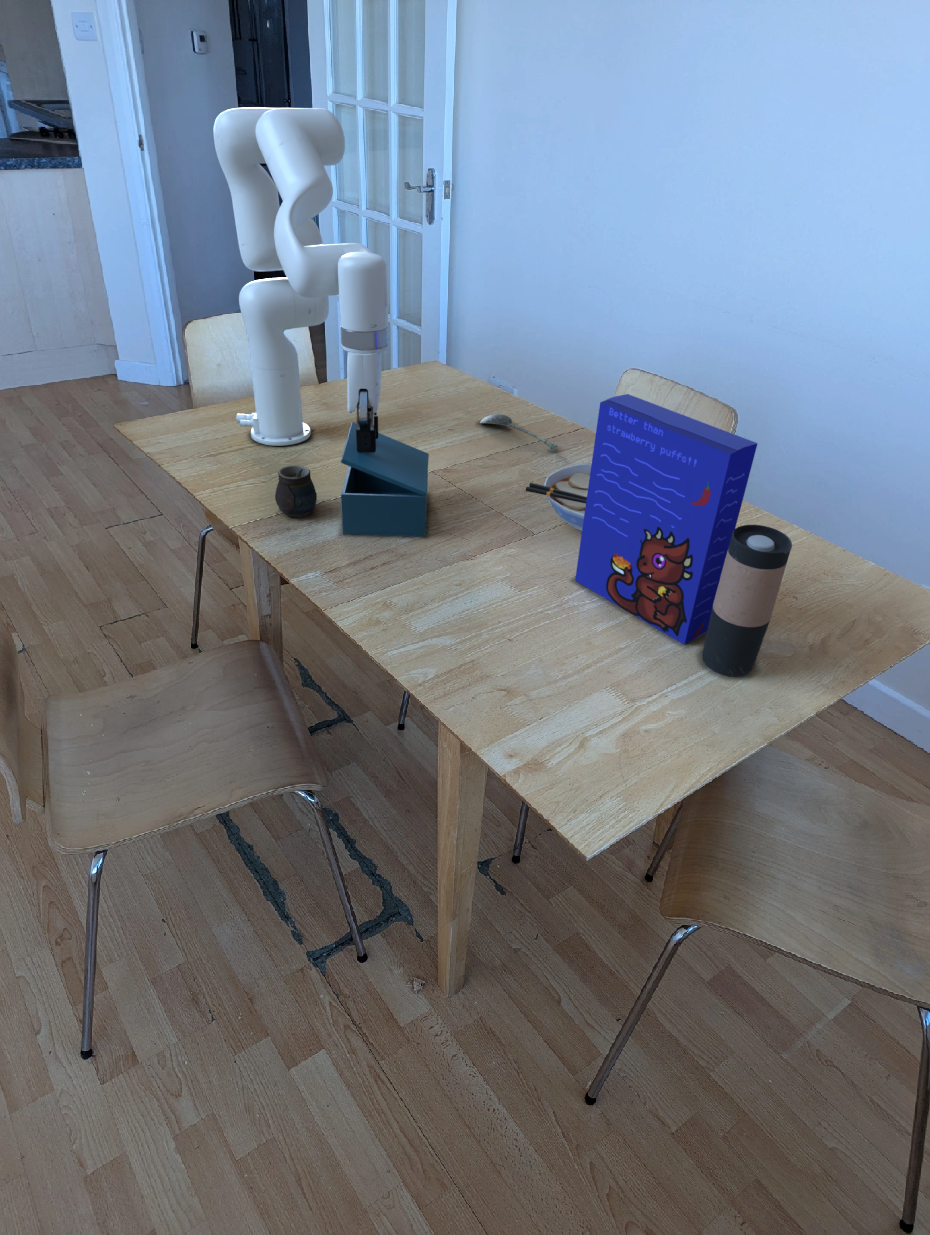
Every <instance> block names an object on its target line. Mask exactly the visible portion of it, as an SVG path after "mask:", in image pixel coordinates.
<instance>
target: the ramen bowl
mask: <svg viewBox="0 0 930 1235" xmlns="http://www.w3.org/2000/svg"><path fill="white" fill-rule="evenodd" d="M591 464H592V463H578V464H573V465H570V466H564V467H561V468H558V469H557V470H555V471H554V472H552V473H550V474H549V475H547V476H546V477H545V481H544V483H543V484H538V483H534V482H529V485H528V486H526V487H525V492H527V493H528V492H529V493H533V494H539V495H542V496H543V495H544V496H546V497H547V500H548V501H549V503H550V505H551V507H552V508H553V510H554V512H555V513H556V515H557V516H558V517H559V518H560V519H561V520H562V521H564V522H565V523H567V524H568V525H569V526H571V527H573V529H575V530H578V531H581V532H582V528H583V521H584V514H585V507H586V500H587V493H588V486H589V479H590V471H591Z"/></svg>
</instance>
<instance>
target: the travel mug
mask: <svg viewBox="0 0 930 1235" xmlns="http://www.w3.org/2000/svg"><path fill="white" fill-rule="evenodd" d="M792 547H793V541H792V540H791V538H790V537H789V536H788V535H787V534H785V533H784V532H782V531H780V530H778V529H776V528H773V527H770V526H767V525H761V524H744V525H740V526H738V527H737V526H736V528H735V530H734V531H733V533H732V536H731V540H730V544H729V547H728V551H727V555H726V558H725V562H724V566H723V570H722V573H721V577H720V581H719V584H718V588H717V592H716V596H715V599H714V603H713V607H712V612H711V616H710V621H709V626H708V630H707V632H706V636H705V640H704V645H703V650H702V655H701V656H702V657H701V658H702V661H703V663H704V664H705V666H706V667H707V668H709V669H710V670H711V671H713V672H715V673H716V674H718V675H722V676H726V677H734V678H736V677H738V678H739V677H743V676H747V675H748V674H750V673H751V672H752V671H753V668H754V666H755V663H756V662H757V658H758V656H759V652H760V651H761V647H762V644H763V642H764V638H765V635H766V633H767V629H768V628H769V624H770V621H771V618H772V615H773V611H774V608H775V605H776V601H777V599H778V598H777V597H778V594H779V591H780V588H781V584H782V581H783V578H784V574H785V570H786V567H787V564H788V560H789V558H790V554H791V551H792V549H793V548H792Z"/></svg>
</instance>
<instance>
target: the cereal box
mask: <svg viewBox="0 0 930 1235" xmlns="http://www.w3.org/2000/svg"><path fill="white" fill-rule="evenodd" d="M757 447H758V442H756V441H753V440H751V439H748V438H745V437H742V436H739V435H738V434H735V433H732V432H729V431H726V430H724V429H722V428H718V427H716V426H713V425H711V424H708V423H705V422H702V421H700V420H697V419H695V418H693V417H690V416H686V415H684V414H682V413H679V412H676V411H675V410H674V411H673V410H671V409H669V408H666V407H664V406H661V405H658V404H655V403H653V402H650V401H647V400H644V399H642V398H639V397H638V396H634V395H632V394H629V393H627V394H621V395H616V396H612V397H609V398H606V399H605V400H603V401H600V402H599V408H598V415H597V423H596V431H595V436H594V444H593V451H592V458H591V463H590V464H591V471H590V479H589V486H588V493H587V500H586V507H585V514H584V521H583V528H582V531H581V536H580V544H579V550H578V557H577V564H576V571H575V572H576V573H575V578H574V580H575V582H577V583H578V584H580V585H582V586H584V587H585V588H587V589H589V590H590V591H592V592H594V593H596V594H597V595H599V596H601V597H602V598H604V599H605V600H608V601H609V602H610V603H613V604H614V605H616V606H618V607H619V608H621V609H622V610H624V611H626V612H627V613H629V614H631V615H632V616H633V615H634V617H636V618H638V619H640V620H641V621H643V622H645V623H646V624H648V625H650V626H651V627H653V628H655V629H657V630H658V631H660V632H662V633H663V634H665V635H666V636H669V637H670V638H672V639H674V640H675V641H677V642H679V643H681V644H682V645H686V644H688V643H691V642H692V641H693V640H695V639H697V638H699V637H701V636H702V635H703V634H705V633H707V630H708V626H709V621H710V616H711V612H712V607H713V603H714V599H715V596H716V592H717V588H718V584H719V581H720V577H721V573H722V570H723V566H724V562H725V558H726V555H727V551H728V547H729V544H730V540H731V536H732V533H733V531H734V530H735V529H736V528H737V524H738V520H739V516H740V512H741V508H742V504H743V501H744V497H745V493H746V490H747V485H748V481H749V477H750V474H751V470H752V466H753V462H754V458H755V455H756V452H757Z"/></svg>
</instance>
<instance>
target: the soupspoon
mask: <svg viewBox="0 0 930 1235" xmlns="http://www.w3.org/2000/svg"><path fill="white" fill-rule="evenodd" d="M479 424H489V425H490V424H491V425H498V426H499V425H500V426H506V427H509V428H511V429H516V430H518V431H521V432H523V433H525V434H527V435H529V436H531V437H534V438H535V439H537V440H539V441H540V442H543V443H544V444H545V445H546V446H547V447H549V448H550V451H551V452H553V453H554V452H556V450H557V449H558V448H559V446H558V444H554V443H552V442H550V441H548V440H547V439H544V438H543V437H541V436H539V435H538V434H536V433H533V432H532V431H529V430H527V429H525V428H523V427H521V426H518V425H515V424H513V420H512V418H511V417H510V416H508V415H507V414H502V413H494V414H489V415H487V416H485V417H484V418H482V419H481V420H480V421H479Z"/></svg>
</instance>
